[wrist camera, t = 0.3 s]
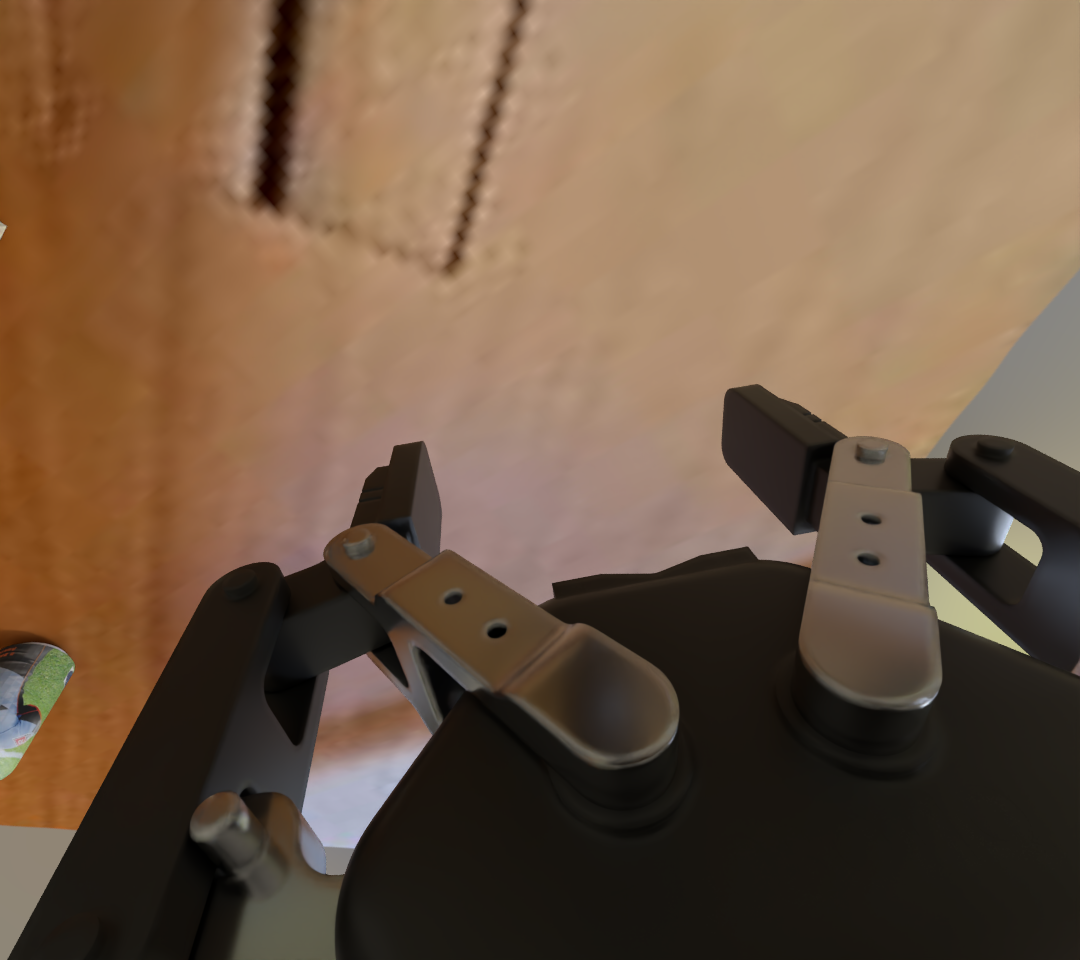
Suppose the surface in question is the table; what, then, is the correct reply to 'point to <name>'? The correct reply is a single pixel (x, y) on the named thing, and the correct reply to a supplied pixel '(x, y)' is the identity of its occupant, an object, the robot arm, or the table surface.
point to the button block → (2, 229)
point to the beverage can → (28, 695)
